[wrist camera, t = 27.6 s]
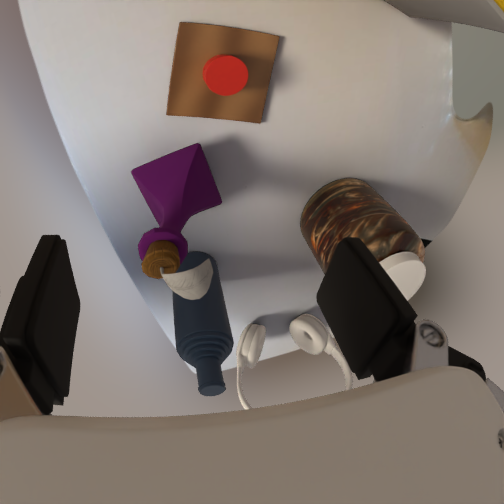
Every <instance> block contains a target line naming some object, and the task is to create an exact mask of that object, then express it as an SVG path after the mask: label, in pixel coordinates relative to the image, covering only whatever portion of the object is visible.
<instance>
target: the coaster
mask: <svg viewBox="0 0 504 504" xmlns="http://www.w3.org/2000/svg"><path fill="white" fill-rule="evenodd" d="M278 42H279V36H275V35H271V34H266V33H261V32H256V31H250V30H244V29H238V28H232V27H224V26H217V25H208V24H198V23H186V22H180V23H179V28H178V34H177V40H176V46H175V52H174V58H173V65H172V72H171V79H170V87H169V95H168V104H167V113H166V115H171V116H189V117H203V118H215V119H226V120H235V121H244V122H252V123H261V119H262V115H263V110H264V105H265V101H266V96H267V91H268V87H269V82H270V78H271V73H272V69H273V64H274V60H275V55H276V51H277V46H278ZM217 55H232V56H233V57H236V58H238V59H240V60H241V61H242V62H243V63H244V64H245V65H246V67H247V70H248V80H247V83H246V85H245V86H244V88H243V89H242V90H241V91H239V92H238V93H236V94H233V95H230V96H222V95H218V94H216V93H214V92H213V91H211V90H210V89H209V87H208V86H207V84H206V83H205V81H204V80H203V68H204V66H205V64H206V62H207V61H208V60H209V59H211V58H212V57H214V56H217Z"/></svg>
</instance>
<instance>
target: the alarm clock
mask: <svg viewBox="0 0 504 504" xmlns="http://www.w3.org/2000/svg"><path fill="white" fill-rule="evenodd" d="M384 1H386V2H388V3H389V4H391V5H392V6H394V7H395V8H397V9H399V10H400V11H402V12H403V13H405V14H406V15H407V16H409V17H414V18H424V19H433V20H441V21H448V22H456V23H461V24H466V25H472V26H476V27H481V28H486V29H490V30H494V31H498V32H502V33H504V0H384Z"/></svg>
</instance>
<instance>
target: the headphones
mask: <svg viewBox="0 0 504 504" xmlns="http://www.w3.org/2000/svg"><path fill="white" fill-rule="evenodd" d="M290 334H291V336H292V338H293V340H294V341H295V343H296V344H297V345H298V346H299V347H300V348H301V349H303V350H304V351H306V352H308V353H310V354H315V355H317V354H320V353H321V352H323V350H324V351H325V352H326V353H328V354H329V355H331V354H332V355H333V357H334V358H335V359H336V361H337V362H338V363H339V365H340V367H341V368H342V370H343V373H344V376H345V380H346V390H350V389H352V382H353V380H352V373H351V369H350V367H349V365H348V363H347V361H346V359H345V357H344V356H343V355H342V353H341V352H340V351H339V350H338V348H337V347H336V344H335V342H334V340H333V338H332V337H331V335H330V333H329V332H328V330H327V328H326V327H325V325H324V324H323V323H322V322H321V321H320V320H319V319H318V318H316V317H315V316H313V315H310V314H302V315H301V316H299V317H298V318H296V319H295V320H293V321H292V322H291V324H290ZM265 335H266V328H265V327H264V326H263V325H257V324H252V323H250V324H248V325H247V327H246V328H245V329H244V330H243V332H242V334H241V336H240V339H239V342H238V346H237V351H236V356H237V371H238V374H237V390H238V395H239V399H240V401H241V404H242V406H243V407H244V409H245V410H246V409H253V408H252V407H251V406H250V405H249V403H248V402H247V400H246V398H245V396H244V394H243V390H242V383H241V377H242V373H243V371H244V366H248V367H249V368H253V367H255V365H256V364H257V362H258V360H259V357H260V355H261V351H262V348H263V344H264V340H265ZM346 390H345V391H346Z"/></svg>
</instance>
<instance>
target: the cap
mask: <svg viewBox="0 0 504 504" xmlns="http://www.w3.org/2000/svg"><path fill="white" fill-rule="evenodd" d="M203 80H204V81H205V83H206V84H207V86H208V87H209V89H210V90H211V91H213V92H214V93H216V94H218V95H222V96H230V95H233V94H236V93H238V92H239V91H241V90H242V89H243V88H244V86H245V85H246V83H247V80H248V70H247V67H246V65H245V64H244V63H243V62H242V61H241V60H240V59H238V58H236V57H233V56H232V55H217V56H214V57H212V58H211V59H209V60H208V61H207V62H206V64H205V66H204V68H203Z"/></svg>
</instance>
